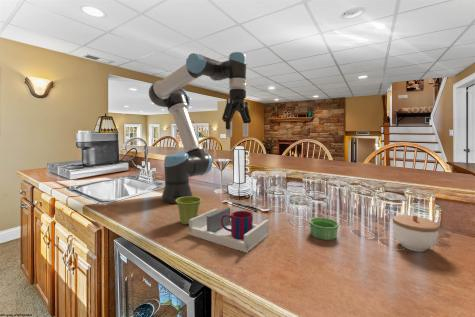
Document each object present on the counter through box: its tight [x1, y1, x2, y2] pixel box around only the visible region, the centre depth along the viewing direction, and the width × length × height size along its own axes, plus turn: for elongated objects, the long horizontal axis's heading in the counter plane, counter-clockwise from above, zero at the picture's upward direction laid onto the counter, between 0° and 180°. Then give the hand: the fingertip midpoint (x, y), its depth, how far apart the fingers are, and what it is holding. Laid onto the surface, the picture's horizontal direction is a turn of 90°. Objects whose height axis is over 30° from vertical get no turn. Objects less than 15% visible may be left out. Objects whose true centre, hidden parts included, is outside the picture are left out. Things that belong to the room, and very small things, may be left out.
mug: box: [221, 210, 254, 240], centre depth 73 cm, size 7×10×7 cm
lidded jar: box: [392, 214, 440, 253], centre depth 68 cm, size 11×11×9 cm
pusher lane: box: [188, 208, 270, 254], centre depth 76 cm, size 22×14×5 cm, turn 57°
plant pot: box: [176, 196, 202, 225], centre depth 87 cm, size 9×9×9 cm
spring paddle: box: [207, 206, 231, 233], centre depth 78 cm, size 1×11×6 cm, turn 147°
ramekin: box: [309, 216, 340, 241], centre depth 76 cm, size 9×9×4 cm
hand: (237, 137), depth 106 cm, fingers open, 13 cm apart
